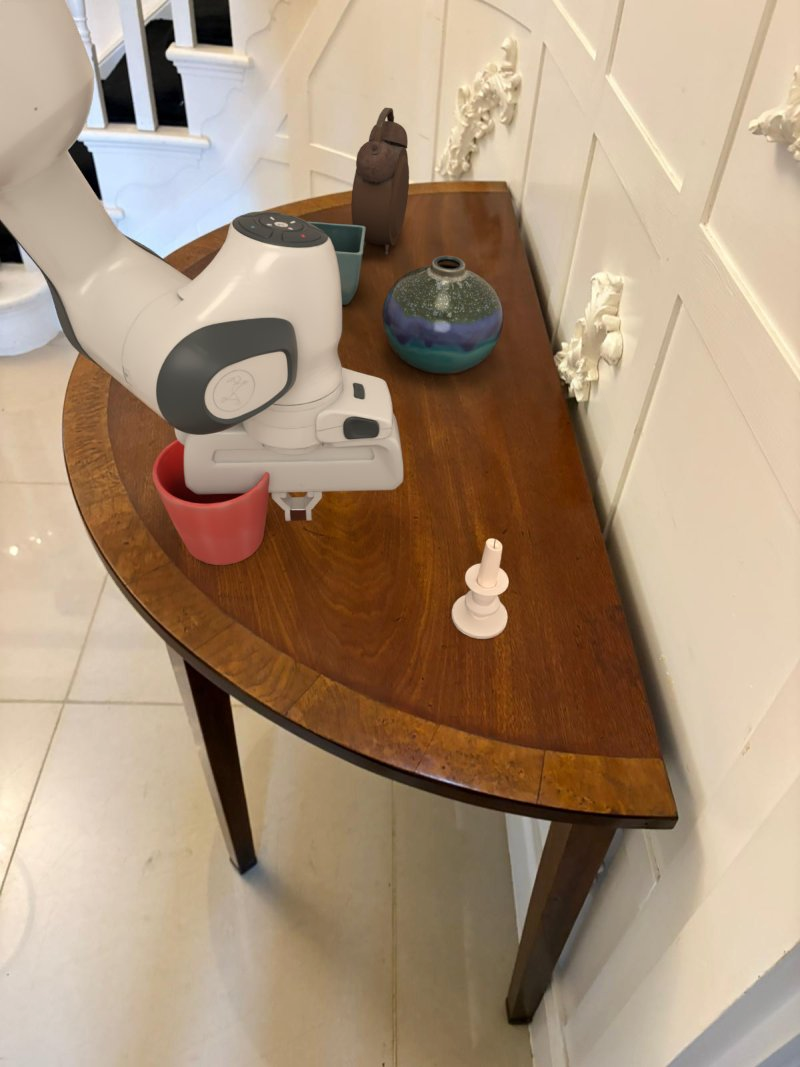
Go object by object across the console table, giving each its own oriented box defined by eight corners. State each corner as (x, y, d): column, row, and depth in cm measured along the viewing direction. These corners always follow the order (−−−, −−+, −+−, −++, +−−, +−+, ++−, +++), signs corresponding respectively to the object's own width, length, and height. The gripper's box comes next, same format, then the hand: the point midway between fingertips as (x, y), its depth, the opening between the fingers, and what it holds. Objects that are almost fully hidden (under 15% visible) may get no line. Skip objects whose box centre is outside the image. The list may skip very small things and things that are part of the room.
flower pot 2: (360, 314, 111) (362, 253, 105) (298, 310, 111) (296, 249, 104) (364, 284, 117) (365, 225, 111) (305, 280, 117) (303, 220, 111)
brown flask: (365, 224, 132) (369, 92, 118) (407, 230, 131) (416, 98, 117) (344, 262, 122) (345, 123, 108) (389, 269, 121) (397, 130, 107)
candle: (500, 594, 76) (518, 516, 68) (512, 637, 72) (532, 560, 65) (447, 597, 75) (459, 519, 68) (456, 641, 71) (470, 563, 64)
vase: (518, 374, 103) (537, 279, 93) (417, 403, 97) (426, 305, 87) (456, 318, 112) (467, 226, 102) (360, 341, 106) (362, 246, 96)
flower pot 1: (302, 530, 80) (296, 457, 73) (223, 596, 73) (209, 522, 66) (227, 486, 84) (215, 413, 77) (147, 544, 78) (126, 470, 71)
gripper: (164, 427, 65) (188, 542, 75) (410, 423, 67) (401, 536, 77) (173, 382, 69) (194, 497, 79) (403, 380, 71) (396, 492, 81)
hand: (298, 516), depth 78 cm, fingers closed
